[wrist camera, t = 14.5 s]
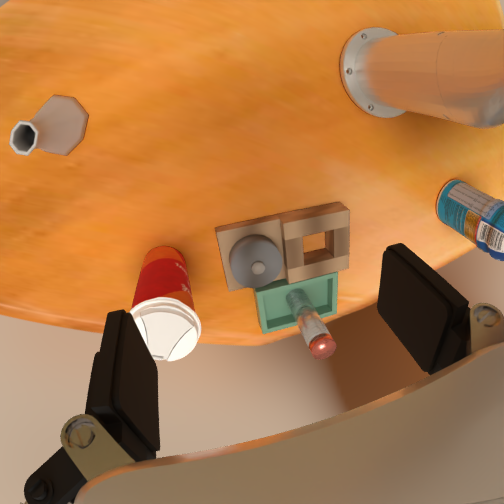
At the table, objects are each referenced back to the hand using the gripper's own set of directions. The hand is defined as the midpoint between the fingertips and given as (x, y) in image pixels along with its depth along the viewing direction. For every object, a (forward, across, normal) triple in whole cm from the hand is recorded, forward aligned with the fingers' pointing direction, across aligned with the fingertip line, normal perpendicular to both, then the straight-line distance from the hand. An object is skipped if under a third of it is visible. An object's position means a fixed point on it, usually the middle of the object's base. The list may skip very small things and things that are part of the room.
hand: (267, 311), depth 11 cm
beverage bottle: (+28, -39, +13) cm, 50 cm away
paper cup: (+28, +8, +13) cm, 32 cm away
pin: (+28, -9, +23) cm, 37 cm away
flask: (+29, +16, -8) cm, 34 cm away
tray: (+28, -9, +23) cm, 38 cm away
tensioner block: (+28, -8, +14) cm, 33 cm away
